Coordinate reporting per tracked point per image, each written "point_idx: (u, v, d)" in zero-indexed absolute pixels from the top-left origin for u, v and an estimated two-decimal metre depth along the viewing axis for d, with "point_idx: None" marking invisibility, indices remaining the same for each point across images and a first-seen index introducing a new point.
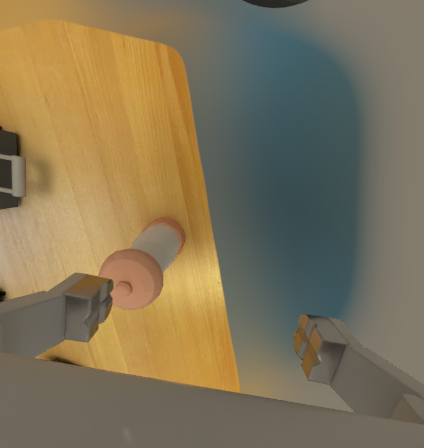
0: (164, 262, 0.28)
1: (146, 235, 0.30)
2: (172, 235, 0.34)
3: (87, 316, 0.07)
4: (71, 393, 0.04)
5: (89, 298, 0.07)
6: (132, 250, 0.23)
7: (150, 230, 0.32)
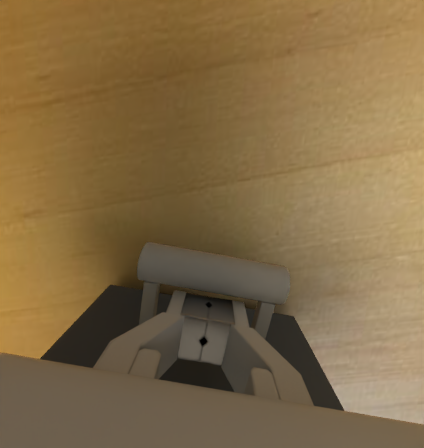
0: None
1: None
2: None
3: (202, 336, 0.07)
4: (71, 393, 0.04)
5: (206, 318, 0.07)
6: None
7: None
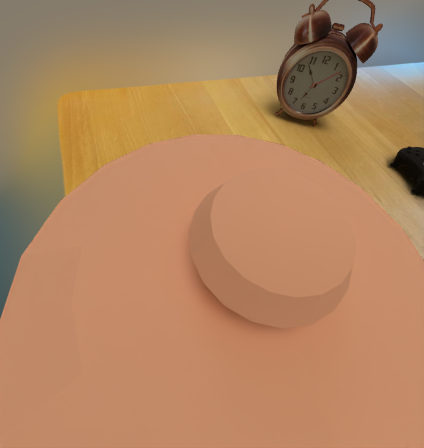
0: None
1: None
2: None
3: None
4: None
5: None
6: None
7: None
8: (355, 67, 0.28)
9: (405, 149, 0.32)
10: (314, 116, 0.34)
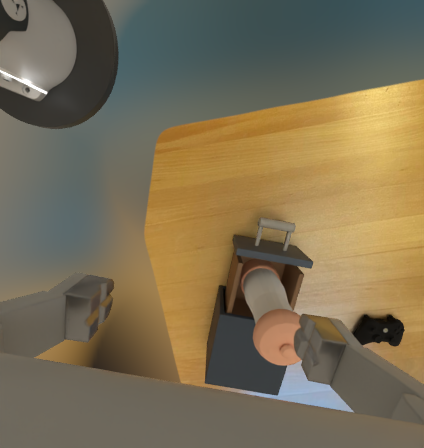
0: (272, 298, 0.30)
1: (249, 304, 0.34)
2: (252, 277, 0.36)
3: (87, 316, 0.07)
4: (71, 393, 0.04)
5: (89, 298, 0.07)
6: (253, 334, 0.26)
7: (245, 298, 0.35)
8: None
9: (402, 326, 0.44)
10: None
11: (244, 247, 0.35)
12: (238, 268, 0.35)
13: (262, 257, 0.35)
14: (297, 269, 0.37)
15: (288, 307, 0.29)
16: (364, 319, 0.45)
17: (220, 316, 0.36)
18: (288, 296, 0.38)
